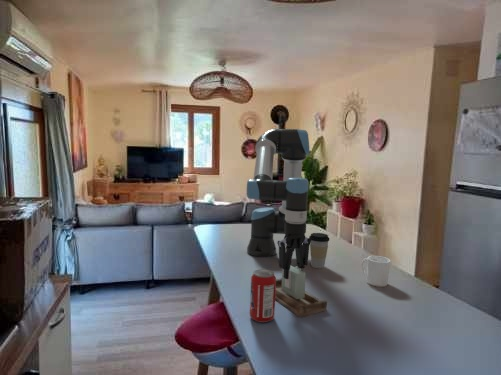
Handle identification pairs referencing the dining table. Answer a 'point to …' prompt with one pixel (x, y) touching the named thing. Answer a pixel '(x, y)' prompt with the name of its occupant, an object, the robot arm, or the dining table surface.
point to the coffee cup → (318, 249)
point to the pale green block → (295, 283)
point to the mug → (377, 270)
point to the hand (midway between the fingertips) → (292, 285)
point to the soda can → (262, 295)
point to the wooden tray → (299, 302)
